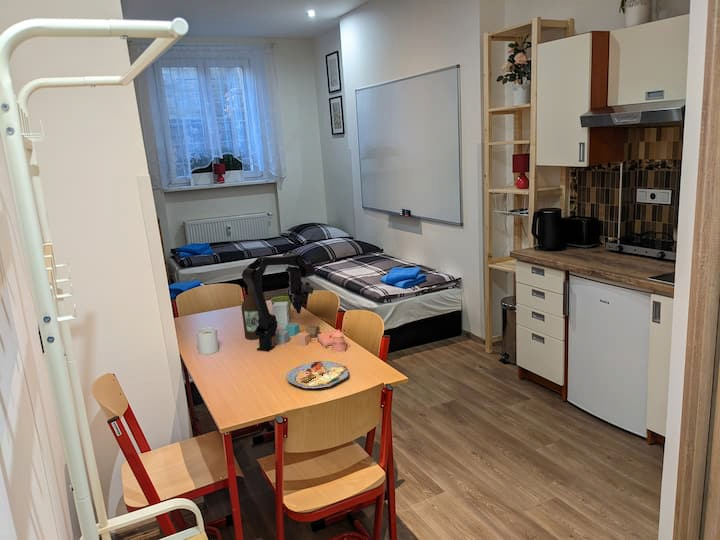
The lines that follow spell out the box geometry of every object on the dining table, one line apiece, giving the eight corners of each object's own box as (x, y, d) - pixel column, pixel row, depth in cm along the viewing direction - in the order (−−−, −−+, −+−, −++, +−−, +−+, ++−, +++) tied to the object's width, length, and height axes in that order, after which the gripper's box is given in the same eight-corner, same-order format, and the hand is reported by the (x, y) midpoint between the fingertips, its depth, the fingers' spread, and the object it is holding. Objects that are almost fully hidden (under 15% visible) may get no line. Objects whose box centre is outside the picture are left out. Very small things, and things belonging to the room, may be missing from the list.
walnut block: (315, 339, 266) (315, 329, 265) (306, 338, 268) (305, 328, 267) (319, 335, 271) (319, 325, 270) (310, 334, 273) (310, 325, 272)
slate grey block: (284, 344, 260) (283, 334, 259) (275, 343, 262) (274, 333, 261) (289, 341, 265) (288, 331, 264) (280, 340, 267) (279, 330, 265)
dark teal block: (295, 336, 270) (294, 327, 269) (286, 336, 272) (285, 326, 271) (299, 333, 275) (299, 324, 274) (290, 332, 277) (290, 323, 275)
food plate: (318, 361, 238) (318, 353, 237) (360, 374, 224) (359, 366, 223) (275, 382, 220) (274, 374, 219) (317, 398, 205) (317, 390, 204)
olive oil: (244, 334, 277) (240, 285, 271) (265, 332, 278) (262, 284, 272) (243, 341, 266) (238, 291, 261) (265, 339, 268) (261, 289, 262)
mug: (213, 355, 250) (211, 334, 247) (194, 354, 252) (191, 333, 249) (223, 346, 260) (221, 326, 258) (205, 345, 262) (203, 325, 260)
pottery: (317, 342, 262) (316, 322, 259) (336, 339, 265) (335, 319, 263) (331, 355, 246) (330, 334, 243) (351, 351, 249) (350, 330, 247)
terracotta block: (305, 346, 256) (304, 336, 255) (295, 345, 258) (295, 335, 257) (310, 343, 261) (309, 333, 260) (300, 342, 263) (300, 332, 262)
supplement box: (288, 329, 282) (286, 305, 279) (273, 329, 282) (271, 305, 279) (290, 324, 289) (288, 301, 286) (276, 324, 289) (274, 301, 286)
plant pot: (270, 317, 302) (268, 297, 300) (291, 314, 306) (290, 295, 303) (273, 323, 291) (272, 303, 289) (295, 321, 295) (294, 300, 292)
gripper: (316, 282, 257) (317, 314, 260) (308, 274, 274) (309, 304, 277) (292, 284, 253) (294, 317, 257) (285, 276, 271) (287, 306, 274)
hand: (297, 311), depth 266 cm, fingers open, 9 cm apart
